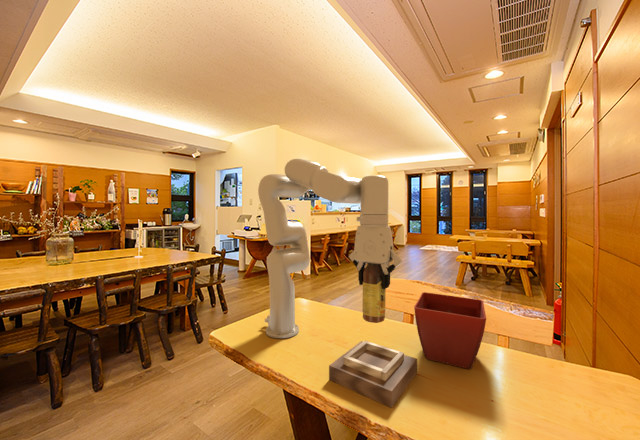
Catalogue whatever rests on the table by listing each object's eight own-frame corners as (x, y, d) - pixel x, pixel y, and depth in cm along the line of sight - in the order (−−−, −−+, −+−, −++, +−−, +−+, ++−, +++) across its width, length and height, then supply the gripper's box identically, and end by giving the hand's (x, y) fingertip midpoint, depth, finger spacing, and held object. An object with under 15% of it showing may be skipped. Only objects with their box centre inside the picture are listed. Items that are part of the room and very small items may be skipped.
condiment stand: (329, 379, 76) (329, 358, 76) (361, 353, 90) (361, 334, 90) (391, 408, 65) (391, 382, 65) (417, 372, 79) (417, 351, 79)
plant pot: (482, 349, 93) (483, 299, 92) (485, 379, 76) (486, 318, 76) (422, 337, 102) (422, 291, 101) (412, 361, 85) (413, 307, 85)
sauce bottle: (385, 325, 74) (386, 250, 73) (361, 323, 75) (362, 249, 74) (384, 315, 80) (385, 247, 79) (362, 314, 81) (363, 246, 80)
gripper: (340, 220, 79) (340, 283, 79) (399, 222, 68) (398, 294, 69) (353, 220, 85) (353, 278, 85) (410, 221, 74) (409, 288, 75)
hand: (373, 285), depth 77 cm, fingers closed on sauce bottle, 6 cm apart
